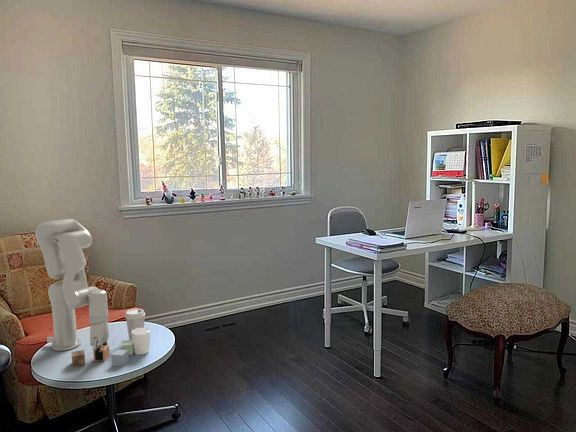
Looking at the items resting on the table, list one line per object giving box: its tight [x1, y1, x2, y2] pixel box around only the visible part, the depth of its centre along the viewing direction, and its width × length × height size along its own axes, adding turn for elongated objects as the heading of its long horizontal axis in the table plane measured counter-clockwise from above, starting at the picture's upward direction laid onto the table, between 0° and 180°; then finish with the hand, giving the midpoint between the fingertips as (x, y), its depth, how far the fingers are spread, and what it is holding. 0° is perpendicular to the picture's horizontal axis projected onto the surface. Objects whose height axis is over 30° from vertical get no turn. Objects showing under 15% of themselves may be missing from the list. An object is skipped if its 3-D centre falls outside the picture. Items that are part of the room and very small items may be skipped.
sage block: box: [120, 340, 135, 356], centre depth 207 cm, size 5×5×5 cm
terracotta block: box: [92, 344, 111, 362], centre depth 201 cm, size 5×5×5 cm
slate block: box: [110, 349, 129, 367], centre depth 197 cm, size 5×5×5 cm
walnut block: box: [71, 349, 86, 368], centre depth 196 cm, size 5×5×5 cm
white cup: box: [132, 327, 151, 356], centre depth 207 cm, size 8×8×10 cm
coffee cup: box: [124, 308, 146, 340], centre depth 219 cm, size 10×10×15 cm
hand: (101, 356), depth 202 cm, fingers closed on terracotta block, 5 cm apart
